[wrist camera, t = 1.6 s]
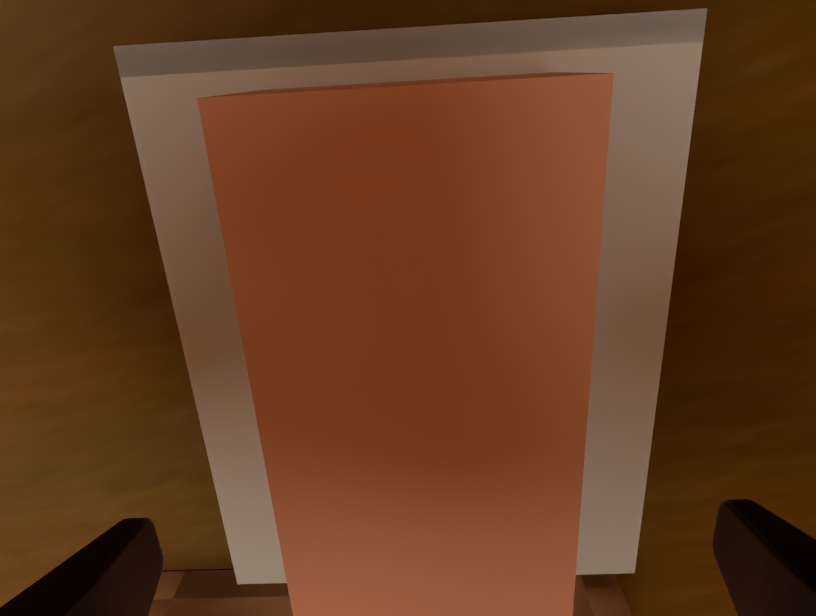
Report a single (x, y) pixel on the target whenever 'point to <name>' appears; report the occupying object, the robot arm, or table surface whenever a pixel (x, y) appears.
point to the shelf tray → (271, 608)
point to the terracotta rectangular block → (419, 331)
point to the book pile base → (424, 60)
